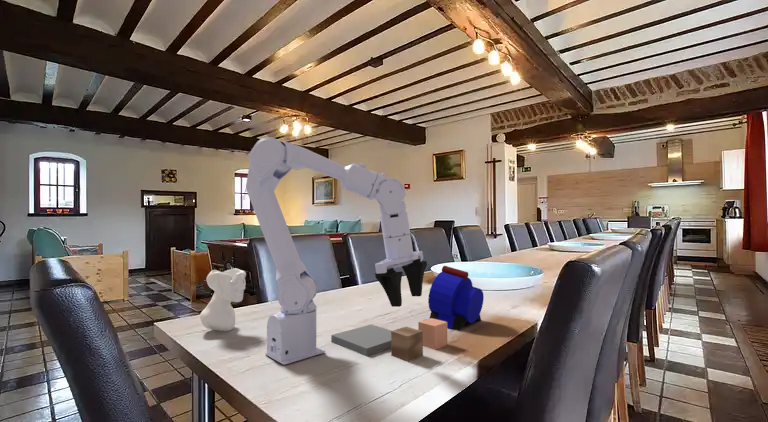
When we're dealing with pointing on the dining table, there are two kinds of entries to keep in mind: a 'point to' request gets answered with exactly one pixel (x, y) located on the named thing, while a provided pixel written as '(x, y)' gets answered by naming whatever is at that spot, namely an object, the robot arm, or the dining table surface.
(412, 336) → the walnut block
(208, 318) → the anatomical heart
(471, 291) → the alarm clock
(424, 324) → the terracotta block
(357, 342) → the base plate
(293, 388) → the dining table surface
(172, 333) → the dining table surface
